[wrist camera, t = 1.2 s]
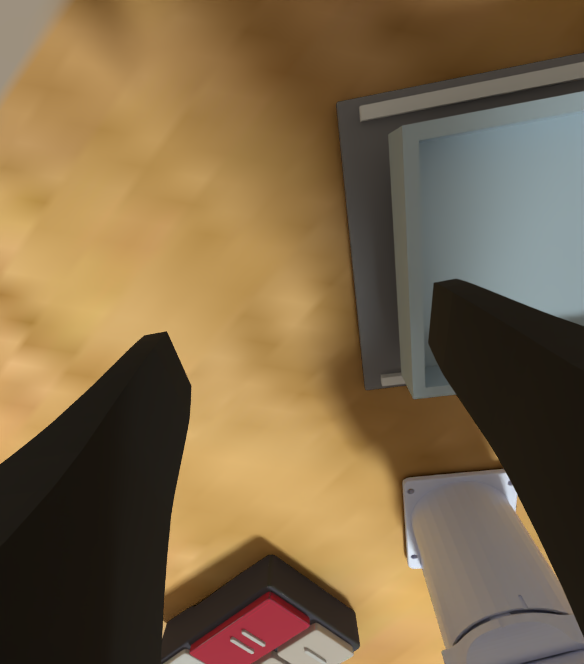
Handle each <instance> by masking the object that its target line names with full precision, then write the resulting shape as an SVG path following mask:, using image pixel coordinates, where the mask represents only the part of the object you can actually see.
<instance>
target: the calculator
mask: <svg viewBox="0 0 584 664" xmlns="http://www.w3.org/2000/svg"><path fill="white" fill-rule="evenodd" d="M359 647H360V642H359V635H358V628H357V621H356V615H355V612H354V611H353V610H351V609H350V608H348V607H347V606H346V605H344V604H343V603H341V602H340V601H339V600H337V599H336V598H334V597H333V596H332V595H330V594H329V593H327V592H326V591H324V590H323V589H322V588H320V587H319V586H317V585H316V584H315V583H313V582H312V581H310V580H309V579H308V578H306V577H305V576H303V575H302V574H300V573H299V572H298V571H296V570H295V569H293V568H292V567H291V566H289V565H288V564H286V563H285V562H283V561H282V560H281V559H279V558H278V557H276V556H275V555H268V556H266V557H265V558H263V559H262V560H260V561H259V562H257V563H256V564H254V565H253V566H251V567H250V568H248V569H247V570H245V571H244V572H242V573H241V574H239V575H238V576H236V577H235V578H233V579H232V580H231V581H229V582H228V583H226V584H225V585H224V586H222V587H221V588H220V589H218V590H217V591H216V592H214V593H213V594H211V595H210V596H209V597H207V598H206V599H205V600H203V601H202V602H200V603H199V604H198V605H196V606H191V607H189V608H188V609H186V610H185V611H183V612H182V613H180V614H179V615H177V616H176V617H174V618H173V619H171V620H170V621H168V622H167V625H166V628H165V632H164V635H163V638H162V650H161V664H340V663H342V662H344V661H345V660H347V659H349V658H351V657H352V656H353V655H354V653H353V652H354V651H356V650H357V649H359Z"/></svg>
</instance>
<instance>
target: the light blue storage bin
mask: <svg viewBox="0 0 584 664" xmlns="http://www.w3.org/2000/svg"><path fill="white" fill-rule="evenodd" d="M388 141H389V159H390V177H391V195H392V213H393V232H394V250H395V268H396V286H397V305H398V323H399V341H400V359H401V375H402V377H403V379H404V381H405V383H406V385H407V387H408V389H409V391H410V393H411V395H412V398H413V399H421V398H430V397H439V396H448V395H456V393H455V392H454V390H453V389H452V387H451V386H450V384H449V383H448V381H447V380H446V378H445V377H444V375H443V374H442V372H441V370H440V368H439V366H438V364H437V362H436V360H435V357H434V355H433V353H432V351H431V349H430V347H429V344H428V338H429V327H430V317H431V306H432V295H433V285H434V283H435V282H440V281H446V280H451V279H460V280H463V281H466V282H469V283H472V284H475V285H477V286H480V287H482V288H485V289H487V290H490V291H492V292H495V293H497V294H500V295H502V296H505V297H507V298H510V299H512V300H515V301H517V302H520V303H522V304H525V305H527V306H530V307H532V308H535V309H538V310H540V311H543V312H545V313H548V314H551V315H553V316H556V317H559V318H562V319H565V320H568V321H570V322H573V323H576V324H579V325H582V326H584V91H582V92H577V93H571V94H566V95H561V96H556V97H550V98H545V99H540V100H535V101H529V102H524V103H519V104H513V105H508V106H503V107H498V108H492V109H487V110H482V111H477V112H471V113H466V114H461V115H455V116H450V117H445V118H440V119H434V120H429V121H424V122H419V123H413V124H408V125H403V126H401V127H399V128H398V129H396V130H394V131H393V132H391V133H390V134H388Z"/></svg>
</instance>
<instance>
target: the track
mask: <svg viewBox="0 0 584 664" xmlns="http://www.w3.org/2000/svg"><path fill="white" fill-rule="evenodd" d="M582 91H584V53H580V54H575V55H570V56H565V57H560V58H555V59H550V60H545V61H540V62H535V63H530V64H525V65H520V66H515V67H510V68H505V69H500V70H495V71H490V72H485V73H480V74H475V75H470V76H465V77H460V78H455V79H450V80H445V81H440V82H435V83H430V84H425V85H420V86H415V87H410V88H405V89H400V90H395V91H390V92H385V93H380V94H375V95H370V96H365V97H360V98H355V99H350V100H345V101H340V102H337V104H336V108H337V118H338V128H339V138H340V148H341V158H342V168H343V178H344V187H345V197H346V207H347V217H348V227H349V237H350V247H351V257H352V267H353V277H354V287H355V297H356V307H357V316H358V326H359V336H360V346H361V356H362V366H363V376H364V386H365V389H366V390H373V389H381V388H390V387H398V386H407V385H406V383H405V381H404V379H403V377H402V375H401V359H400V341H399V323H398V305H397V286H396V268H395V250H394V232H393V213H392V195H391V177H390V159H389V141H388V134H390V133H391V132H393V131H394V130H396V129H398V128H399V127H401V126H403V125H408V124H413V123H419V122H424V121H429V120H434V119H440V118H445V117H450V116H455V115H461V114H466V113H471V112H477V111H482V110H487V109H492V108H498V107H503V106H508V105H513V104H519V103H524V102H529V101H535V100H540V99H545V98H550V97H556V96H561V95H566V94H571V93H577V92H582Z"/></svg>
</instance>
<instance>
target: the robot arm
mask: <svg viewBox="0 0 584 664" xmlns="http://www.w3.org/2000/svg"><path fill="white" fill-rule="evenodd" d="M428 344H429V347H430V349H431V351H432V353H433V355H434V357H435V360H436V362H437V364H438V366H439V368H440V370H441V372H442V374H443V375H444V377H445V378H446V380H447V381H448V383H449V384H450V386H451V387H452V389H453V390H454V392H455V393H456V395H457V396H458V398H459V399H460V401H461V402H462V404H463V405H464V407H465V408H466V410H467V411H468V413H469V414H470V416H471V417H472V419H473V420H474V422H475V423H476V425H477V426H478V427H479V429H480V430H481V432H482V433H483V435H484V436H485V438H486V439H487V441H488V442H489V444H490V446H491V447H492V449H493V451H494V452H495V454H496V455H497V457H498V459H499V461H500V463H501V464H502V466H503V468H504V469H496V470H485V471H474V472H463V473H452V474H441V475H430V476H419V477H409V478H406V479H404V480H403V483H402V485H403V501H404V518H405V534H406V550H407V562H408V566H409V567H410V568H412V569H418V568H422V570H423V574H424V577H425V581H426V584H427V587H428V591H429V594H430V597H431V601H432V604H433V608H434V611H435V614H436V618H437V621H438V624H439V628H440V631H441V635H442V638H443V641H444V645H445V647H446V649H445V650H442V656H443V659H444V663H445V664H584V326H582V325H579V324H576V323H573V322H570V321H568V320H565V319H562V318H559V317H556V316H553V315H551V314H548V313H545V312H543V311H540V310H538V309H535V308H532V307H530V306H527V305H525V304H522V303H520V302H517V301H515V300H512V299H510V298H507V297H505V296H502V295H500V294H497V293H495V292H492V291H490V290H487V289H485V288H482V287H480V286H477V285H475V284H472V283H469V282H466V281H463V280H460V279H451V280H446V281H440V282H435V283H434V285H433V295H432V306H431V317H430V327H429V338H428ZM190 405H191V384H190V382H189V380H188V378H187V375H186V373H185V371H184V369H183V366H182V364H181V362H180V360H179V357H178V355H177V353H176V351H175V349H174V346H173V344H172V342H171V340H170V337H169V335H168V333H167V331H166V332H161V333H155V334H150V335H145V336H143V337H142V338H141V339H140V340H139V341H137V342H136V343H135V344H134V345H133V346H132V347H131V348H130V349H129V350H128V351H127V352H126V353H125V354H124V355H123V356H122V357H121V358H120V359H119V360H118V361H117V362H116V363H115V364H114V365H113V366H112V367H111V368H110V369H109V370H108V371H107V372H106V373H105V374H104V375H103V376H102V377H101V378H100V379H99V380H98V381H97V382H96V383H95V384H94V385H93V386H92V387H90V388H89V389H88V390H87V391H86V392H85V393H84V394H83V395H82V396H81V397H80V398H79V399H78V400H76V401H75V402H74V403H73V404H72V405H71V406H70V407H69V408H68V409H67V410H65V411H64V412H63V413H62V414H61V415H60V416H59V417H58V418H57V419H56V420H55V421H53V422H52V423H51V424H50V425H49V426H48V427H46V428H45V429H44V430H43V431H42V432H40V433H39V434H38V435H37V436H36V437H34V438H33V439H32V440H31V441H29V442H28V443H27V444H26V445H24V446H23V447H22V448H21V449H19V450H18V451H17V452H15V453H14V454H13V455H12V456H10V457H9V458H8V459H6V460H5V461H4V462H3V463H1V464H0V664H161V650H162V629H163V609H164V592H165V579H166V565H167V552H168V542H169V532H170V521H171V513H172V506H173V500H174V494H175V490H176V485H177V480H178V475H179V470H180V465H181V460H182V455H183V450H184V445H185V440H186V435H187V430H188V424H189V419H190ZM409 489H411V490H409ZM517 495H518V497H519V498H520V500H521V502H522V504H523V506H524V508H525V510H526V512H527V514H528V516H529V518H530V520H531V522H532V524H533V526H534V528H535V530H536V532H537V534H538V537H539V539H540V541H541V543H542V545H543V547H544V549H545V552H546V554H547V556H548V558H549V560H550V562H551V564H552V567H553V569H554V571H555V573H556V575H557V577H558V579H559V580H558V579H557V577H556V576H555V574H554V572H553V571H552V569H551V568H550V566H549V565H548V563H547V561H546V560H545V558H544V557H543V555H542V553H541V552H540V550H539V549H538V547H537V546H536V544H535V542H534V541H533V539H532V538H531V536H530V535H529V533H528V531H527V530H526V528H525V527H524V525H523V523H522V522H521V520H520V519H519V517H518V516H517V514H516V502H517Z"/></svg>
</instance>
